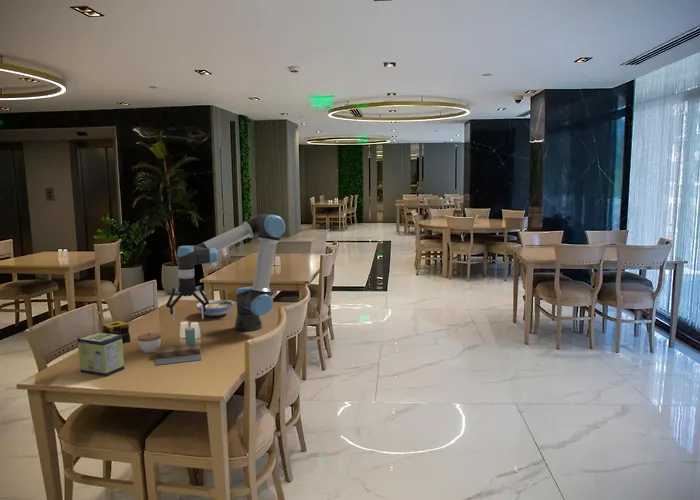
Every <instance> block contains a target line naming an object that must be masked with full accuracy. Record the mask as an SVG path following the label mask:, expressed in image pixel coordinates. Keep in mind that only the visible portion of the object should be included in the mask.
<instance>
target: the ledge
mask: <svg viewBox="0 0 700 500" xmlns="http://www.w3.org/2000/svg"><path fill="white" fill-rule="evenodd" d="M197 354H201V345H200V343H195V344H190V345H186V344H183V345H182V344H181V345H174V346H173V345H171V346H165V347H159V348H156V352H155V360H156V359H163V358H172V357H180V356H189V355H197Z"/></svg>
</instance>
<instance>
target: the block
mask: <svg viewBox="0 0 700 500" xmlns="http://www.w3.org/2000/svg"><path fill="white" fill-rule="evenodd" d="M195 331H196V330H195V327H189V328H188V327H187V328H184V335H185V345H190V344H196V332H195Z"/></svg>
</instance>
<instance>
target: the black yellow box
mask: <svg viewBox="0 0 700 500" xmlns="http://www.w3.org/2000/svg"><path fill="white" fill-rule="evenodd" d="M129 329H130V327H129V323H128V322H124V321H123V320H122V321H121V320H117V321H113V322H112V321H111V322H107V323H104V324H103V323H102V324H101V330H102V333H106V334H115V335H122V344H127V343H131V334H130V331H129Z"/></svg>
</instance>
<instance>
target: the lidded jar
mask: <svg viewBox="0 0 700 500" xmlns="http://www.w3.org/2000/svg"><path fill="white" fill-rule="evenodd" d="M161 342H162V334H161V333H158V332H147V333H143V334H140V335H138V336H137V343H138V347H139V349H140V350H141V352H143V353H144V354H154V353H156V348H161Z"/></svg>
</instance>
